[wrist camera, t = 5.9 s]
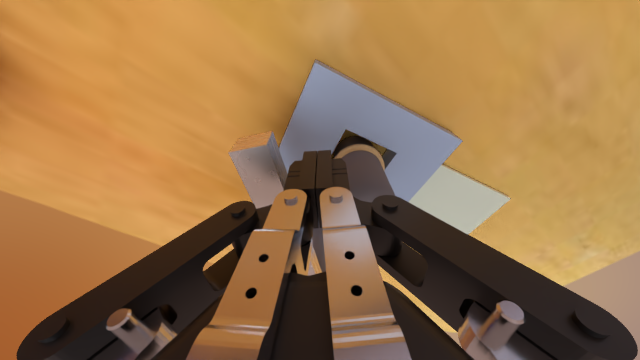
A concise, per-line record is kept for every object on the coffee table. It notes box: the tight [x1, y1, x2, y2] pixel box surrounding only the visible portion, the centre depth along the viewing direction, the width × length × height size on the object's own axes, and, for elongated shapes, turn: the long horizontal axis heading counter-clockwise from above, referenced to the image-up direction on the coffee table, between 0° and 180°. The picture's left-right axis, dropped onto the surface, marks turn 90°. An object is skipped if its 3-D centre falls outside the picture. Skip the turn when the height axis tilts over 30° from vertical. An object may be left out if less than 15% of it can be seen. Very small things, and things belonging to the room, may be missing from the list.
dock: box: [279, 59, 462, 272], centre depth 20 cm, size 14×16×9 cm
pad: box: [409, 164, 511, 234], centre depth 26 cm, size 10×8×1 cm
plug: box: [334, 136, 395, 203], centre depth 19 cm, size 5×5×8 cm
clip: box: [228, 131, 322, 275], centre depth 15 cm, size 4×16×2 cm, turn 12°
